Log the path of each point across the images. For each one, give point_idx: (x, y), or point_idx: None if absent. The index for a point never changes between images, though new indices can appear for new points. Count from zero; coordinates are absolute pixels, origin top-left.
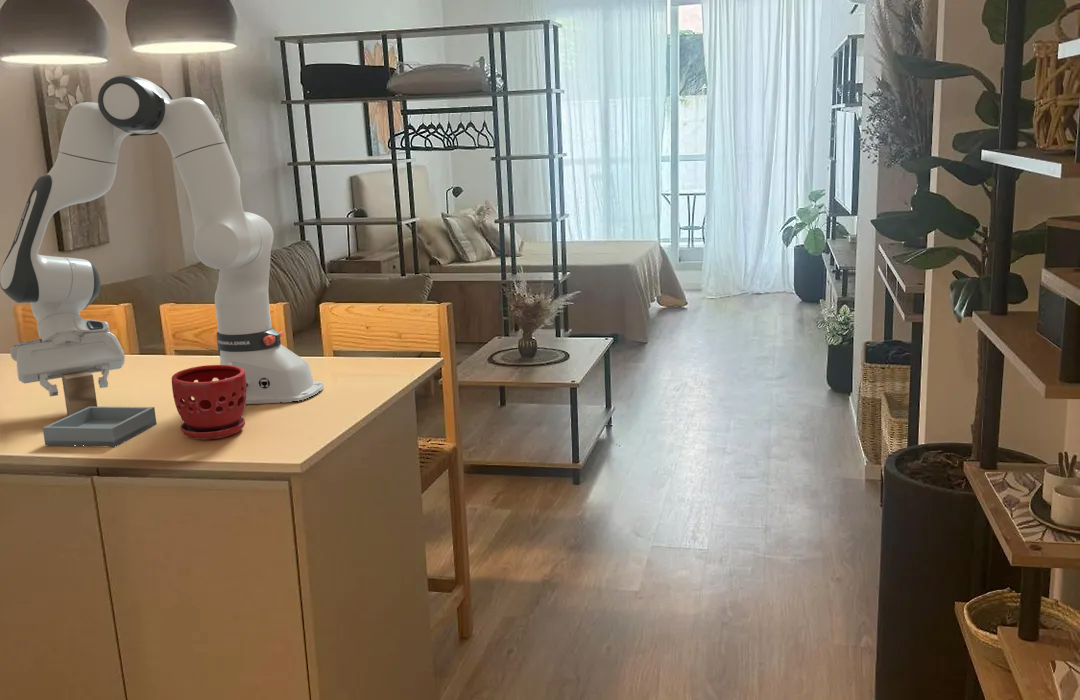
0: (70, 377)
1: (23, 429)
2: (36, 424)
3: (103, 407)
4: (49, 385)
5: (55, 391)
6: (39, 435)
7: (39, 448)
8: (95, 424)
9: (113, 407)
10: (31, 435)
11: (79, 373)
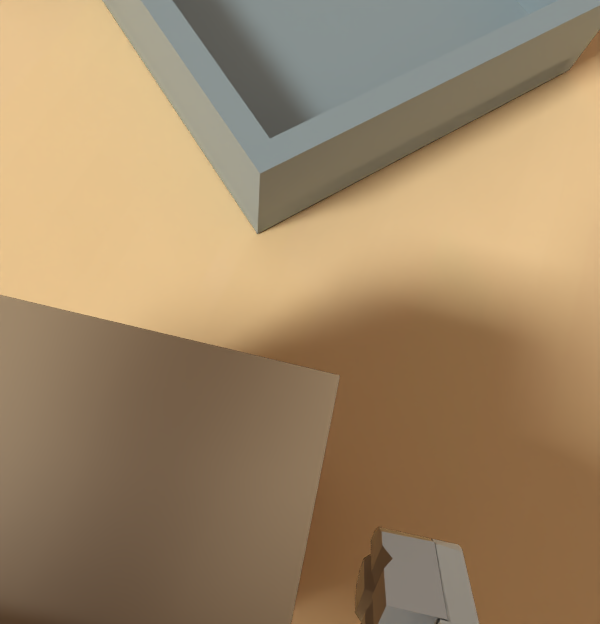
0: (261, 413)
1: (591, 477)
2: (500, 532)
3: (213, 70)
4: (468, 616)
5: (404, 535)
6: (547, 259)
7: (597, 60)
8: (301, 86)
9: (174, 17)
10: (581, 298)
11: (39, 575)
